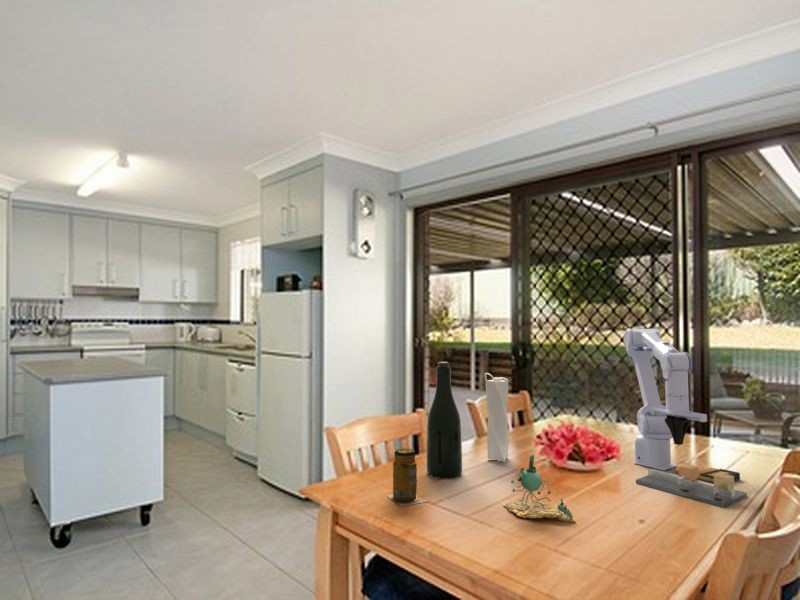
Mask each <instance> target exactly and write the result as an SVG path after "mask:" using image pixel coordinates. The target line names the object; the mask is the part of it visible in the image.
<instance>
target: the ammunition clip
mask: <svg viewBox="0 0 800 600" xmlns="http://www.w3.org/2000/svg"><path fill="white" fill-rule="evenodd" d="M697 467H698V478H697V479H696V480H700V481H704V482H708V483H712V484H714V475H716V474H719V473H723V474H727V475H732V476H734V482H736V481H740V480H741V474H740V472H737V471H733V470H728V469H723V468H715V467H710V466H709V467H707V466H701V465H700V466H697ZM677 473H679V470H677Z"/></svg>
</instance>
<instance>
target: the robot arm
mask: <svg viewBox="0 0 800 600" xmlns="http://www.w3.org/2000/svg"><path fill="white" fill-rule="evenodd" d="M623 337H624V339H623V342H624V346H625V350H626V353H627V356H628V357H630V358H632V361H633V364H634V368H635V373H636V376H637V381H638V385H639V390H640V394H641V399H642V402H643V406H642V407H640V409H638V411H637V413H636V419H637V422H636V423H637V425H636V426H637V430H638V432H639V434H638V435H637V436H636V438H635V443H634V448H635V452H634V453H635V455H634V456H635V457H634V458H635V461H634V462H633V463H634V464H636V465H640V466H643V467H648V468H650V469H655V470H659V471H667V470H671V469H673V468H676V467H677V466H678V464H675V463H672V457H671V456H672V455H671V439H672V440H673V444H674V445H678V446H681V445H683V444H684V440H685V436H686V432H687V430H688V428H689V426H690V425H691V424H692V421H694V422H695V421H696V422H700V423H706V422H708V414H706V413H701V412H697V411H696V412H694V411H691V410H690V399H689V398H690V397H689V396H690V395H689V373H691V371H692V368H693V366H692V365H693V363H692V358H691V355H690V354H689V352H687V351H683V352H680V351H679V350H678V349H676V348H675V347H674V346H673V345H672V344H671V343H670V342H669V341H668V340H663V339H661V333H660V331H659V330H658V329H657V328H656V327H655V328H626V330H625V331H624V336H623ZM654 357H655V359H657V360H658V361H659V362H660V368H661V371H662V377H663V379H664V388H665V389H664V391H665V392H664V393H665V405H663V404H662V402H661V397H660V394H659V391H658V386H657V383H656V378H655V375H654V371H653V367H652V362H651V359H652V358H654Z"/></svg>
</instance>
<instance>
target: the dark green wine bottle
mask: <svg viewBox="0 0 800 600" xmlns="http://www.w3.org/2000/svg"><path fill="white" fill-rule="evenodd" d="M435 372H436V383H435V392H434V397H433V401H432V403H431V406H430V407H429V408H430V409H429V411H428V415H427V423H426V473H427V475H429V476H430V475H431V477H432V476H433V478H436V477H437V479H443V478H448V479H454V478H458V477H460V476H461V475H462V473H463V448H462V447H463V444H462V441H463V439H462V424H461V422H462V421H461V416H460V412H459V409H458V407H457V404H456V402H455V398H454V395H453V390H452V380H451V378H452V374H451V373H452V368H451V366H450V362H448V361H439V362H437V366H436V368H435Z"/></svg>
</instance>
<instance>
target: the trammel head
mask: <svg viewBox="0 0 800 600" xmlns="http://www.w3.org/2000/svg"><path fill="white" fill-rule="evenodd" d="M677 466H678V467H677V468H678V471H679V472H678V475H679V478H678V485H679V486H682V480H685V479H687V480H691V481H692V480H694V479H696V480H698V479H697V478H698V467H697V466H696V465H691V464H689V463H683V464H681V465H677Z"/></svg>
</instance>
